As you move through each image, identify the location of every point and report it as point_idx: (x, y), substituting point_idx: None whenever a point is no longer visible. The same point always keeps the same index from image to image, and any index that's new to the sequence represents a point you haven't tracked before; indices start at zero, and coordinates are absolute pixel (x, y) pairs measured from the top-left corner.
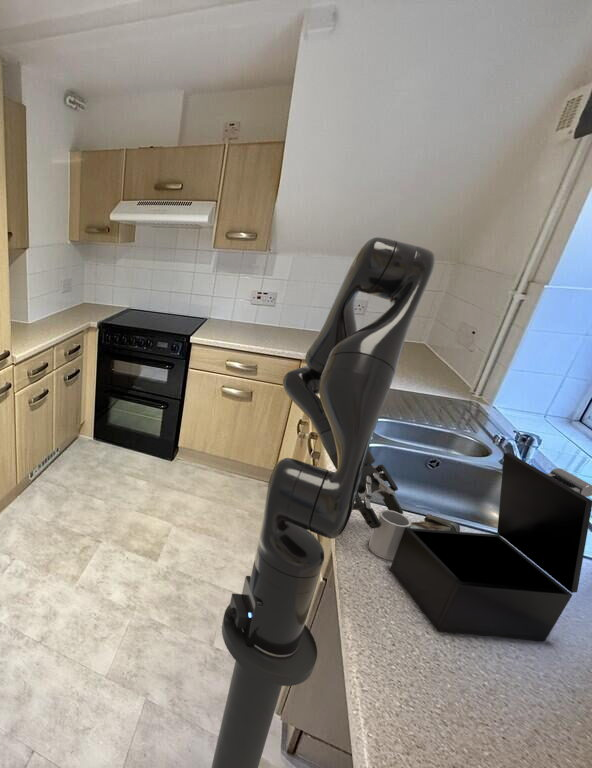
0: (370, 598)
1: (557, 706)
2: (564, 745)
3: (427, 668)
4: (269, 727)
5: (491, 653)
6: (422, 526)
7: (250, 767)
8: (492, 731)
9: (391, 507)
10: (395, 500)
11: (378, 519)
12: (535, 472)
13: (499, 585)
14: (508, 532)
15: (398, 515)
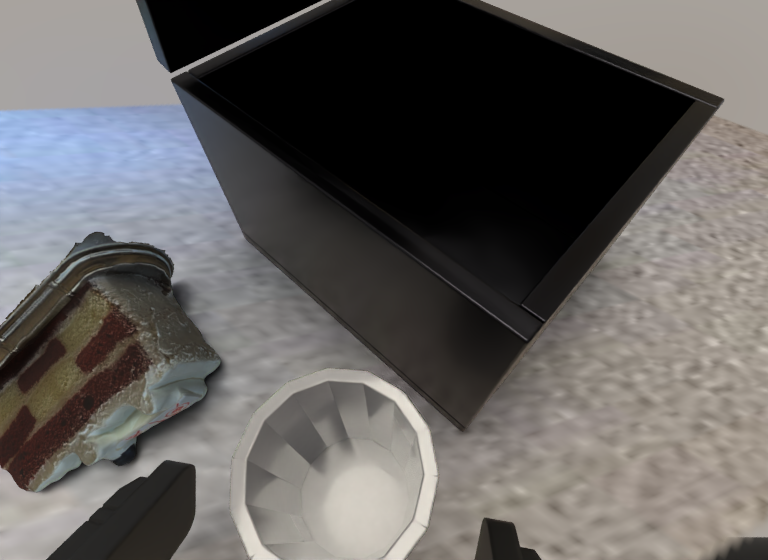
0: (696, 424)
1: None
2: None
3: (753, 246)
4: (764, 537)
5: None
6: (98, 395)
7: None
8: (749, 155)
9: (154, 551)
10: (101, 543)
11: (490, 554)
12: None
13: (564, 43)
14: (209, 2)
15: (249, 468)
